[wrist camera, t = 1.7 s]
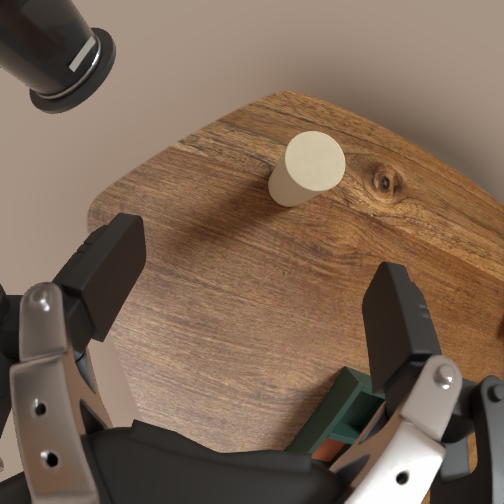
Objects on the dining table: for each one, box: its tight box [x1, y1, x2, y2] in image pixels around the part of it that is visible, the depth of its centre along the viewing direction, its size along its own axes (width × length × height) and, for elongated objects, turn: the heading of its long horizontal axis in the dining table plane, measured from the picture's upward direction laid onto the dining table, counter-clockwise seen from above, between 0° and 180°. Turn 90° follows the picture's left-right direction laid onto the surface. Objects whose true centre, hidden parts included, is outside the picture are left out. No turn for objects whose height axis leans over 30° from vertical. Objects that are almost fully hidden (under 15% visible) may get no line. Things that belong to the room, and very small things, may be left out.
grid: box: [285, 366, 385, 469], centre depth 27 cm, size 13×13×4 cm
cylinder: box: [268, 131, 345, 207], centre depth 23 cm, size 4×4×10 cm
